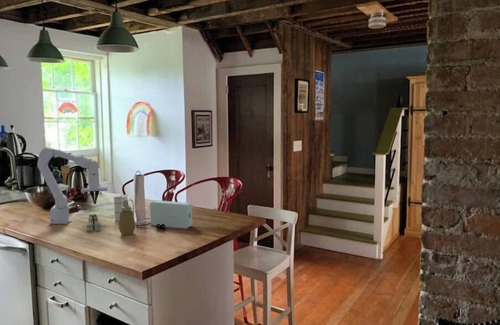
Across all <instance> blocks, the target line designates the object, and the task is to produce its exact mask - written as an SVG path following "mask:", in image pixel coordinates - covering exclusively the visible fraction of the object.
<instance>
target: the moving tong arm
mask: <svg viewBox="0 0 500 325" xmlns="http://www.w3.org/2000/svg"><path fill="white" fill-rule="evenodd" d="M93 231H94V222H93V220H92V217H89V216H88V222H86V232H93Z"/></svg>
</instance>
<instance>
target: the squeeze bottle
mask: <svg viewBox="0 0 500 325" xmlns="http://www.w3.org/2000/svg"><path fill="white" fill-rule="evenodd" d="M135 228H136V223H135V216H134V211H133V210H132V207H131V206H130V205H129V201H127V200H125V203H124V207H122V211H121V212H120V219H119V221H118V229H119V231H120V234H121V235H122V236H131V235H134V232H135Z"/></svg>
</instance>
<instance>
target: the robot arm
mask: <svg viewBox="0 0 500 325" xmlns="http://www.w3.org/2000/svg"><path fill="white" fill-rule="evenodd" d="M52 158H63V159H64V160H65V159H66V160H69V161H72V162H74V164H75V165H76V166H79V167H82V168H85V169H88V187H86V188H81V189H80V193H81V194H82V193H89V195H90V197H91V199H92V202H93V205H96V204H97V201H98V196H99V194H100V192H108V187H106V186H105V187H104V186H103V187H102V186H100V172H99V168H100V165H99V163H98V162H97V161H96V160H95V159H92V158H91V157H90V158H88V157H85V156H84V155H83V154H81V155H80V154H79V155H73V154H71V153H68V152H66V151H63V150H61V149H58V148H54V147H53V148H52V147H50V146H45V147H43V148H42V149H41V151H40V152H39V154H38V160H37V163H36V164H37V165H36V166H37V169H38V170H39V171H40V173H41V176H42V177H43V179H44V182H45V183H46V185H47V186H48V188H49V190H50V192H51V194H52V196H53V198H54V203H55V204H54V206H52V207H51V208H50V210H49V221H50V222H49V224H52V225H53V224H54V225H57V224H58V225H66V224H69V223H70V222H72V221H73V219H70V212H69V205H68V203H69V202H68V197H67V195H65V194H64V193H63V191H62V190H61V188H60V187H59V184H58V182H57V181H56V179H55V177H54V175H53V173H52V172H51V170H50V168H49V166H48V165H49V162H50V160H51V159H52Z"/></svg>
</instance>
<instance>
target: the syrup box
mask: <svg viewBox="0 0 500 325" xmlns="http://www.w3.org/2000/svg"><path fill="white" fill-rule="evenodd" d="M125 200H127V201H128V195H127V194H118V195H116V196H115V195H114V196H113V207H114V221H116V222H119V219H120V212H121V211H122V207H124V203H125ZM128 202H129V201H128Z"/></svg>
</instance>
